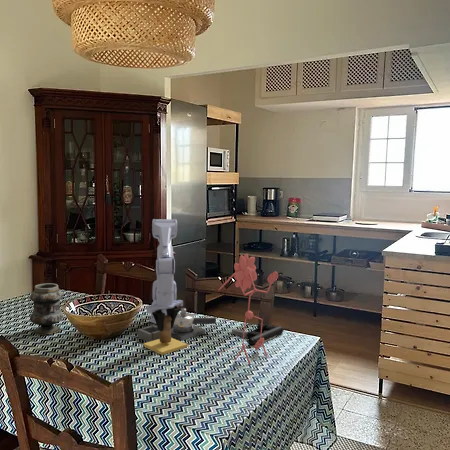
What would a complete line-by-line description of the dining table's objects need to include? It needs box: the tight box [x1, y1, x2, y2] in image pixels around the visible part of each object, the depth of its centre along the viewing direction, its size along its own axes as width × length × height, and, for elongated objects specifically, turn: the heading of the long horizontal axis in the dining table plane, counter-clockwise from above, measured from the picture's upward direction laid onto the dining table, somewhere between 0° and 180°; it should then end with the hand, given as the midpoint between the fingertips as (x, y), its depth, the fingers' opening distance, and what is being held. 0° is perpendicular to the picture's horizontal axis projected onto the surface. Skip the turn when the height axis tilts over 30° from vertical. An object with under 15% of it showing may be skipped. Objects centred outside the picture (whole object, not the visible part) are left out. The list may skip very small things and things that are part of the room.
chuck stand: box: [171, 324, 206, 341], centre depth 175 cm, size 12×12×2 cm
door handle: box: [231, 323, 284, 347], centre depth 173 cm, size 3×20×16 cm
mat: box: [143, 337, 188, 356], centre depth 160 cm, size 11×11×1 cm
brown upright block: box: [160, 315, 172, 343], centre depth 160 cm, size 6×4×9 cm, turn 44°
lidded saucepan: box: [173, 307, 217, 332], centre depth 175 cm, size 16×8×8 cm, turn 96°
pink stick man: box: [218, 253, 279, 365], centre depth 152 cm, size 15×26×35 cm, turn 137°
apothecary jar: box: [29, 283, 64, 336], centre depth 174 cm, size 12×12×18 cm
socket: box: [137, 324, 160, 343], centre depth 169 cm, size 8×8×3 cm
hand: (165, 329), depth 160 cm, fingers closed on brown upright block, 4 cm apart
